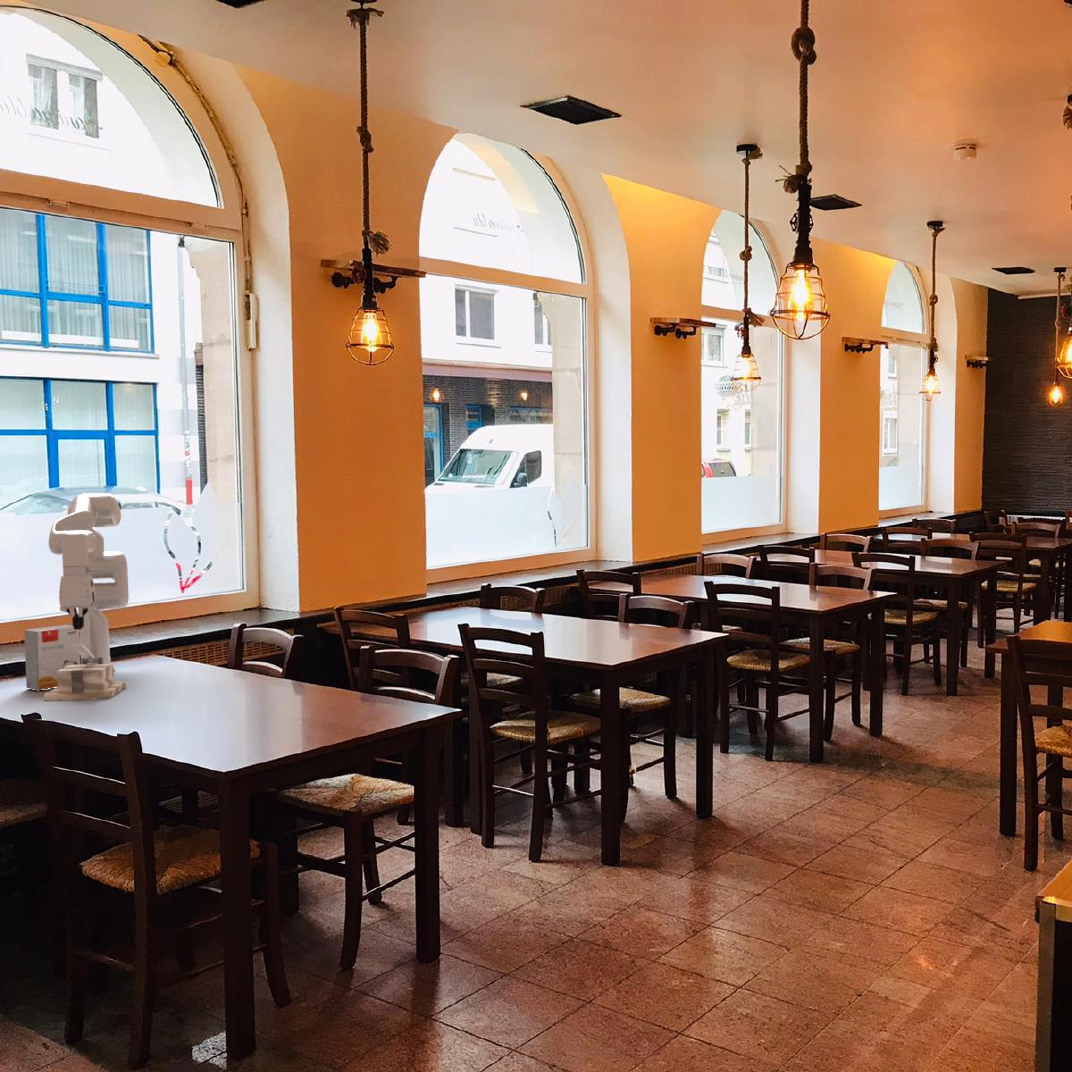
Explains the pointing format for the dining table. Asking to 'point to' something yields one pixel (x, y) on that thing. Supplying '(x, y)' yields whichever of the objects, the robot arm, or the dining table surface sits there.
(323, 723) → the dining table surface
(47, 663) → the hard drive box
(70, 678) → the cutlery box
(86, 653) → the latch bar
